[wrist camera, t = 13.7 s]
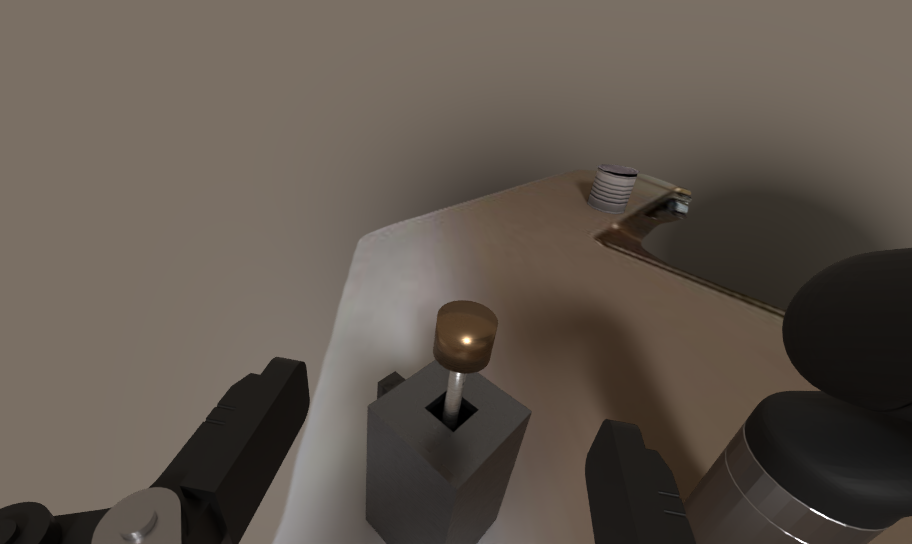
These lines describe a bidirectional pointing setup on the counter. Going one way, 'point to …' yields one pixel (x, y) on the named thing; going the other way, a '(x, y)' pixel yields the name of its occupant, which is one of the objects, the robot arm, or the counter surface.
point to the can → (612, 188)
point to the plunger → (462, 348)
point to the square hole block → (439, 458)
